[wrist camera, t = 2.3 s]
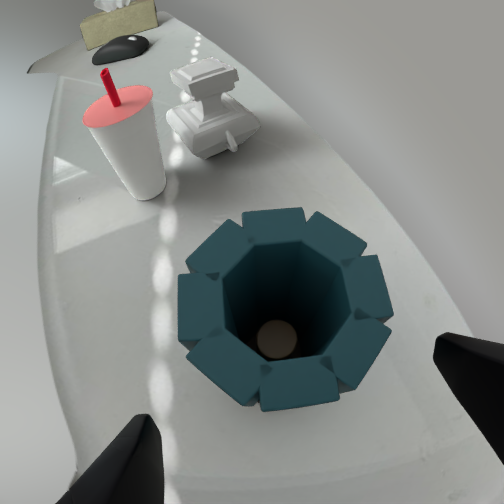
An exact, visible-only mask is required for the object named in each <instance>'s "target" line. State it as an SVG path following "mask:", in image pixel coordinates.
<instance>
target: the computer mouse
mask: <svg viewBox="0 0 504 504" xmlns="http://www.w3.org/2000/svg"><path fill="white" fill-rule="evenodd" d="M148 46H149V41H148V40H147V39H146V38H145V37H142V36H138V35H124V36H119V37H116V38H114V39H112V40H110V41H109V42H107V43H106V44H105V45H103V46H102V47H101V48H100V49H99V50H98V51H97V52H96V53H95V54H94V56H93V58H92V63H93V64H94V65H99V64H105V63H109V62H114V61H118V60H123V59H127V58H132V57H135V56H138V55H140V54H141V53H142V52H143V51H144V50H145V49H146V48H147V47H148Z"/></svg>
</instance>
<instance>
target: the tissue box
mask: <svg viewBox="0 0 504 504" xmlns="http://www.w3.org/2000/svg"><path fill="white" fill-rule="evenodd" d="M93 5H94V6H95V7H96V8H99V9H102V10H104V11H102V12H100V13H97V14H94V15H92V16H90V17H87V18H85V19H84V20H83V21H82V23H81V24H80V28H81V32H82V36H83V38H84V41H85V44H86V47H87V50H88V51H89V50H91V49H94V48H96V47H99V46H101V45H104V44H106V43H107V42H109V41H110V40H112V39H114V38H116V37H119V36H124V35H132V34H135V33H138V32H142V31H145V30H148V29H152V28H156V27H158V21H157V15H156V7H155V4H154V0H136V1H132V2H130V0H95V2H94V3H93Z"/></svg>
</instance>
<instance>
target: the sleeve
mask: <svg viewBox="0 0 504 504" xmlns="http://www.w3.org/2000/svg"><path fill="white" fill-rule="evenodd" d="M242 226H243V228H242V227H241V226H239V225H238V224H236V223H235V222H234V221H232V220H231V219H227V220H226V221H225V222H224V223H223V224H222V225H221V226H220V227H219V228H218V229H217V230H216V231H215V232H214V233H213V234H212V235H211V236H209V237H208V238H207V239H206V240H205V241H204V242H203V243H202V244H201V245H200V246H199V247H198V248H197V249H196V250H195V251H194V252H193V253H192V254H191V255H190V256H189V257H188V258H187V259H186V261H185V262H186V264H187V267H188V269H189V271H190V273H189V274H180V275H178V341H179V342H180V343H181V344H182V345H183V346H185V347H186V348H187V349H188V350H189V351H190V352H189V353H188V354H187V355H186V358H187V360H189V361H190V362H191V363H192V364H193V365H194V366H195V367H196V368H197V369H199V370H200V371H201V372H202V373H203V374H204V375H205V376H207V377H208V378H209V379H210V380H211V381H212V382H214V383H215V384H216V385H217V386H218V387H219V388H221V389H222V390H223V391H224V392H225V393H227V394H228V395H229V396H230V397H232V398H233V399H234V400H235V401H237V402H238V403H239V404H240V405H242V406H254V405H255V404H256V403H257V401H258V400H259V402H260V408H261V410H262V411H263V412H269V411H277V410H285V409H293V408H300V407H306V406H312V405H318V404H324V403H329V402H334V401H338V400H339V399H340V395H339V393H344V392H348V391H353V390H355V389H356V388H357V387H358V385H359V384H360V382H361V381H362V379H363V378H364V376H365V375H366V373H367V372H368V370H369V369H370V367H371V365H372V364H373V362H374V361H375V359H376V357H377V356H378V354H379V353H380V351H381V349H382V348H383V346H384V344H385V342H386V341H387V339H388V337H389V336H390V334H391V332H392V330H391V329H390V328H388V327H387V326H385V325H384V323H385V322H386V321H387V320H388V319H390V318H391V317H392V316H393V315H394V313H393V309H392V305H391V301H390V298H389V294H388V290H387V287H386V283H385V280H384V276H383V273H382V269H381V266H380V263H379V260H378V256H377V255H368V256H361V255H362V254H363V252H364V250H365V248H366V247H367V243H366V242H365V241H363V240H362V239H360V238H359V237H357V236H356V235H354V234H353V233H351V232H350V231H348V230H347V229H345V228H343V227H342V226H340V225H339V224H337V223H336V222H334V221H332V220H331V219H329V218H328V217H326V216H324V215H323V214H321V213H320V212H318V211H316V212H315V213H314V214H313V215H312V216H311V217H310V219H309V220H308V221H307V222H306V219H305V215H304V211H303V208H301V207H298V208H285V209H272V210H261V211H249V212H243V213H242ZM276 319H278V320H283V321H286V322H288V323H289V324H291V325H292V326H293V328H294V329H295V331H296V333H297V337H298V342H299V344H300V351H301V358H294V359H287V360H279V361H270V362H268V361H266V360H265V359H264V358H262V357H261V356H260V355H258V354H257V353H256V352H255V351H253V350H252V349H251V348H249V347H248V346H247V345H246V344H247V343H248V342H249V340H250V339H251V338H252V337H253V336H254V335H255V333H256V332H257V331H258V330H259V328H260V327H261V326H262V325H263V324H264V323H266V322H268V321H270V320H276Z"/></svg>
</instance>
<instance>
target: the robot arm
mask: <svg viewBox="0 0 504 504" xmlns="http://www.w3.org/2000/svg"><path fill="white" fill-rule="evenodd" d="M433 360H434V363H435V365H436V366H437V368H438V370H439V371H440V373H441V374H442V376H443V378H444V379H445V381H446V383H447V384H448V386H449V388H450V389H451V391H452V392H453V394H454V395H455V397H456V398H457V400H458V401H459V402H460V404H461V405H462V406H463V408H464V409H465V410H466V412H467V413H468V414H469V416H470V417H471V419H472V420H473V421H474V423H475V424H476V425H477V427H478V428H479V430H480V431H481V432H482V434H483V435H484V437H485V438H486V440H487V441H488V443H489V444H490V445H491V447H492V448H493V450H494V451H495V453H496V454H497V456H498V457H499V459H500V460H501V462H502V463H503V465H504V344H500V343H496V342H490V341H486V340H481V339H477V338H472V337H467V336H463V335H458V334H454V333H449V332H446V333H444V334H441V335H439V336H438V337H437V338H436V342H435V348H434V353H433ZM56 504H164V467H163V454H162V439H161V434H160V431H159V429H158V428H157V426H156V424H155V422H154V421H153V419H152V417H151V416H150V415H149V414H138V415H135V416H134V417H133V418H132V419H131V421H130V422H129V423H128V424H127V425H126V426H125V427H124V429H123V430H122V431H121V432H120V433H119V434H118V435H117V436H116V438H115V439H114V440H113V441H112V442H111V443H110V444H109V446H108V447H107V448H106V449H105V450H104V451H103V452H102V453H101V455H100V456H99V457H98V458H97V459H96V460H95V461H94V462H93V463H92V465H91V466H90V467H89V468H88V469H87V470H86V471H85V472H84V473H83V475H82V476H81V477H80V478H79V479H78V480H77V481H76V482H75V483H74V485H73V486H72V487H71V488H70V489H69V491H67V492H66V493H65V494H64V495H63V497H62V498H61V499H60V500H59V501H58V502H57V503H56Z"/></svg>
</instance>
